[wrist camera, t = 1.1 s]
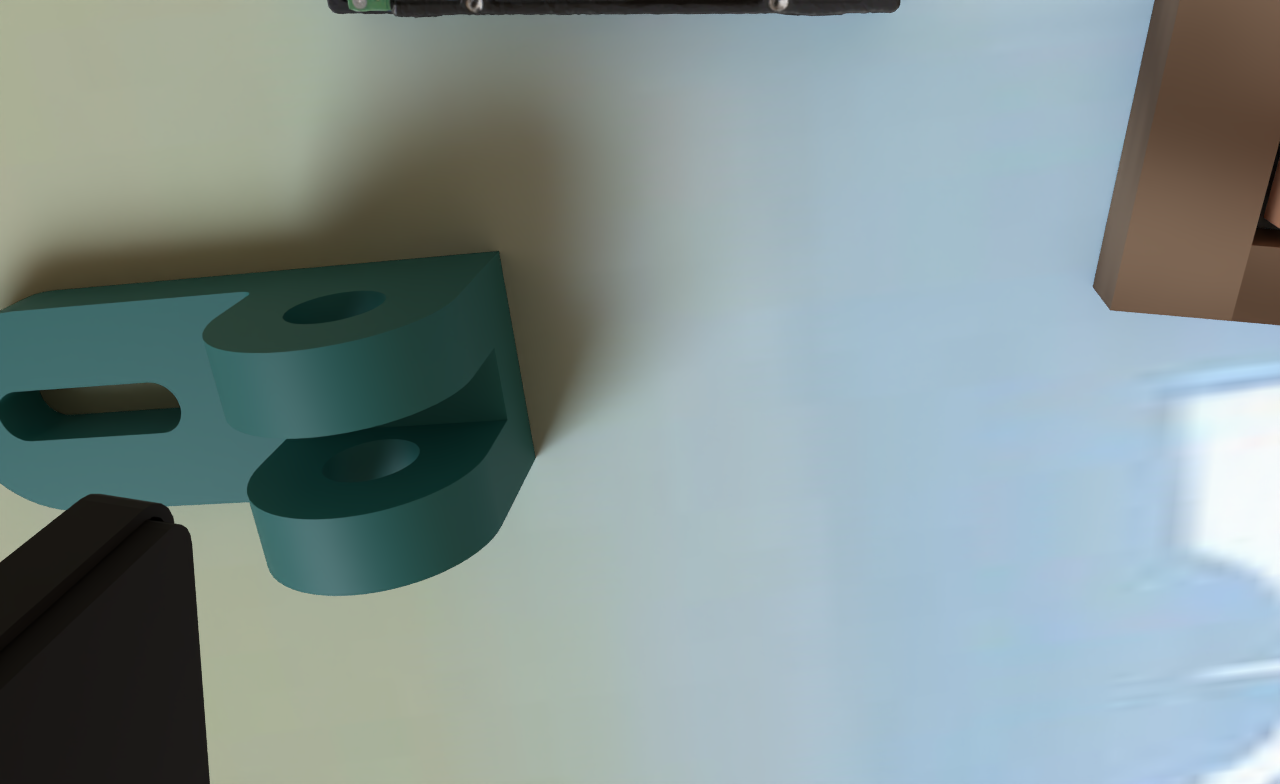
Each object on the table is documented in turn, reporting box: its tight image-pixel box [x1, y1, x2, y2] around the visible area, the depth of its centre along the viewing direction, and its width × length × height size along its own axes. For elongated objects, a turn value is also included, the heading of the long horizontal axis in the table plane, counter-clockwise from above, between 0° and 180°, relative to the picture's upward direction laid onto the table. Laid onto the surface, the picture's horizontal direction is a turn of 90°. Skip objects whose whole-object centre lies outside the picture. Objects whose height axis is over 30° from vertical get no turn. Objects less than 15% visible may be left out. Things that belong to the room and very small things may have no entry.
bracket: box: [0, 251, 535, 596], centre depth 33 cm, size 18×7×8 cm, turn 97°
